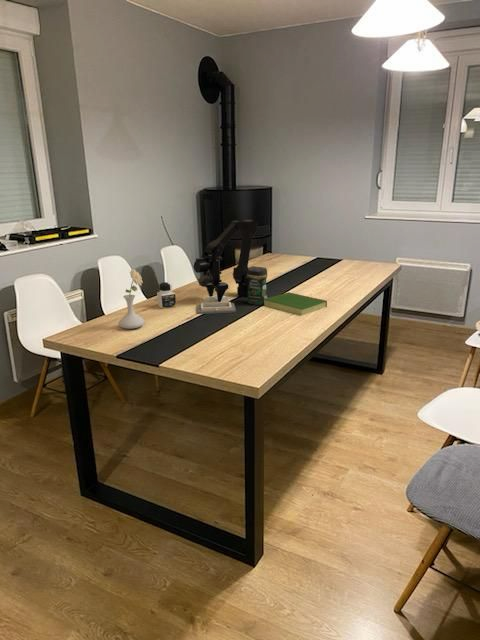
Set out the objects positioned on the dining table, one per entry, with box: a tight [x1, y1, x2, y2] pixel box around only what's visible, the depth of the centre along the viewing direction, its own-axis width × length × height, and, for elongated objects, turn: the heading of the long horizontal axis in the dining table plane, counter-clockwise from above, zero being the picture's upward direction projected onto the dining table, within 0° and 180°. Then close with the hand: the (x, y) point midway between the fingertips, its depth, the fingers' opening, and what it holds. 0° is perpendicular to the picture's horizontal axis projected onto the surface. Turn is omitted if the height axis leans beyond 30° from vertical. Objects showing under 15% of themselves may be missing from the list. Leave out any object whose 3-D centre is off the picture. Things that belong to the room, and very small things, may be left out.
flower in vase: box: [117, 268, 146, 330], centre depth 208 cm, size 13×11×25 cm
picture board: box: [196, 301, 237, 315], centre depth 233 cm, size 18×13×2 cm
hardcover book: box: [263, 291, 328, 316], centre depth 236 cm, size 25×19×4 cm
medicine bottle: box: [156, 281, 177, 310], centre depth 238 cm, size 7×7×12 cm
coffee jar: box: [247, 265, 268, 306], centre depth 240 cm, size 10×8×19 cm
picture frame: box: [202, 294, 228, 303], centre depth 245 cm, size 11×6×3 cm, turn 129°
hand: (215, 300), depth 245 cm, fingers open, 9 cm apart
